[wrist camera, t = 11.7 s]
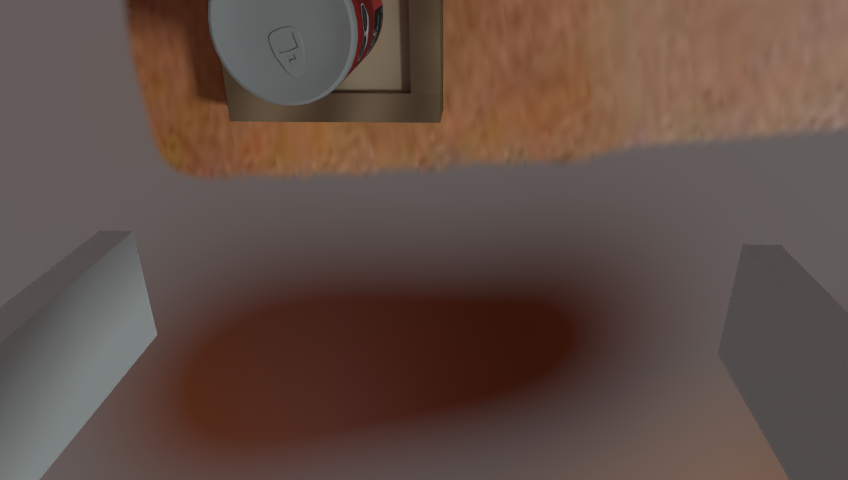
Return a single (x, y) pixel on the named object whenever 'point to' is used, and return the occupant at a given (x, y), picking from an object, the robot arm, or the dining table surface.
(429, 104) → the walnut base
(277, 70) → the canned food
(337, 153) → the dining table surface
